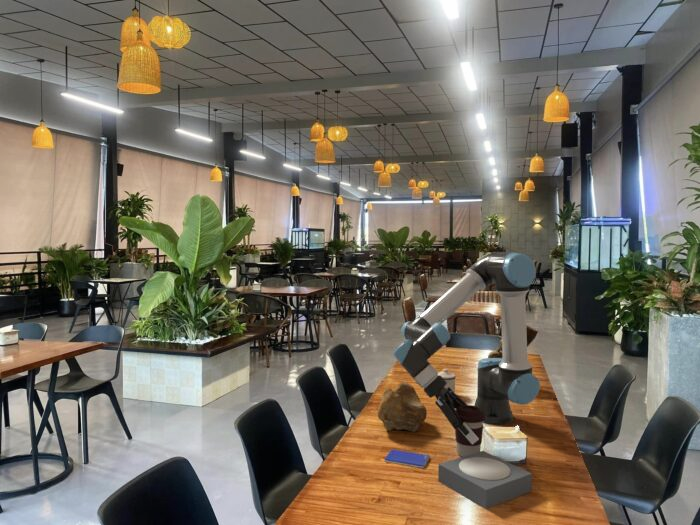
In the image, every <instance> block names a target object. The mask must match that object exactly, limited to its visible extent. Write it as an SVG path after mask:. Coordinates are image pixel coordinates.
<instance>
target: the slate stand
mask: <svg viewBox="0 0 700 525" xmlns="http://www.w3.org/2000/svg"><path fill="white" fill-rule="evenodd" d="M437 470H438V475H437V476H438V478H437V479H438V480H437V481H438V482H439V483H441V484H442V485H444V486H446V487H448V488H449V489H451V490H453V491H454V492H456V493H458V494H459V493H460V495H461V496H463V497H464V496H465V497H464V498H466V499H468V500H470V501H471V502H473V503H474V504H476V505H477V506H479V507H482V508H483V509H490V508H491V507H494V506H496V505H499V504H503V503H505V502H507V501H509V500H512V499H514V498H517V497H520V496H523V495H526V494H528V493H530V492H532V485H533V484H532V483H533V482H532V480H533V473H531V472H529V471H527V470H526V469H523V468H521V467H519V466H516V465H514V464H513V463H510V462H507V461H506V460H504V459H502V458H500V457H498V456H495V455H493V454H492V453H489V452H487V451H484V450H480V452H477V453H474V454H470V455H467V456H464V457H462V456H460V457H457V458H454V459H451V460H447V461H444V462H441V463H438V469H437Z"/></svg>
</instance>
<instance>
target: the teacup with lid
mask: <svg viewBox="0 0 700 525" xmlns="http://www.w3.org/2000/svg"><path fill="white" fill-rule="evenodd" d="M439 375H441V377H442V378H443V379H444V380H445V381H446V382H447V384H446V385H445V386H444V387H445V388H446V389H447V388H448V387H450V388H451V390H452V391H453V392H454V393H455V394H456V378H457V376H456V375H455V374H454V373H452V372H451V371H449V370H448V369H447V368H443V369H442V370H441V371H440V372H439V371H438V376H439Z"/></svg>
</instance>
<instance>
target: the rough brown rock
mask: <svg viewBox="0 0 700 525" xmlns="http://www.w3.org/2000/svg"><path fill="white" fill-rule="evenodd" d="M427 415H428V413H427V408H426V406H425V405H424V404H423V403H422V402H421V401H420V398H419V395H418V394H417V391H416V390H415V387H414V386H413V385H411V384H410V383H408V382H405V381H401V382H399V383H398V384H397V386H396V387H395V389H394V390H393V389H392V388H390V387H385V389H384V390H383V392H382V395H381V399H380V402H379V405H378V409H377V417H378V420H380V421H381V422H382V425H383V427H384V429H385V430H386V431H393V430H394V429H395V430H397V431H398V430H399V431H400V430H407V431H409V432H412V433H417V431H419V429H420V428H421V426H422V425H423V424H424V422H425V421H426V419H427Z"/></svg>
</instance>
